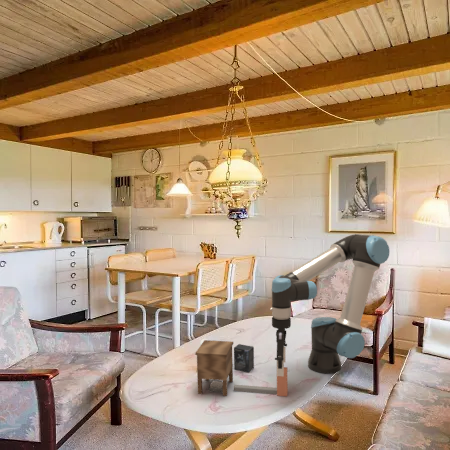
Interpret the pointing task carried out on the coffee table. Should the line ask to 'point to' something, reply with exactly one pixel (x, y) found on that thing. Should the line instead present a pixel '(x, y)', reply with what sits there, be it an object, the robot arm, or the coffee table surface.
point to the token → (216, 386)
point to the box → (243, 357)
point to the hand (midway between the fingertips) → (281, 368)
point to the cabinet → (214, 363)
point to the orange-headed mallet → (280, 390)
